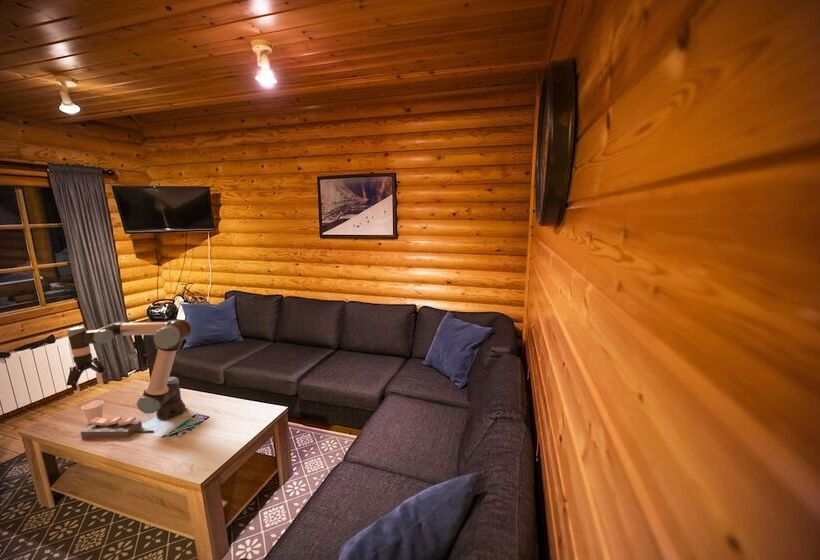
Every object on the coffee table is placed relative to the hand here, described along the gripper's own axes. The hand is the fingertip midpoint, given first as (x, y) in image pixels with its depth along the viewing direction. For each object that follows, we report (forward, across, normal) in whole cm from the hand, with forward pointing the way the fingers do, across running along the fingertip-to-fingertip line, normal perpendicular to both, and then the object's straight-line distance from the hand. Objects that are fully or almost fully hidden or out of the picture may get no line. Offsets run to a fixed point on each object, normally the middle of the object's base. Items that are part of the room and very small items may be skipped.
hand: (89, 388), depth 191 cm
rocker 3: (+20, +2, +20) cm, 28 cm away
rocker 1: (+19, +2, +4) cm, 20 cm away
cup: (+25, -7, -8) cm, 28 cm away
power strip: (+26, +3, +17) cm, 31 cm away
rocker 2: (+20, +2, +12) cm, 23 cm away
